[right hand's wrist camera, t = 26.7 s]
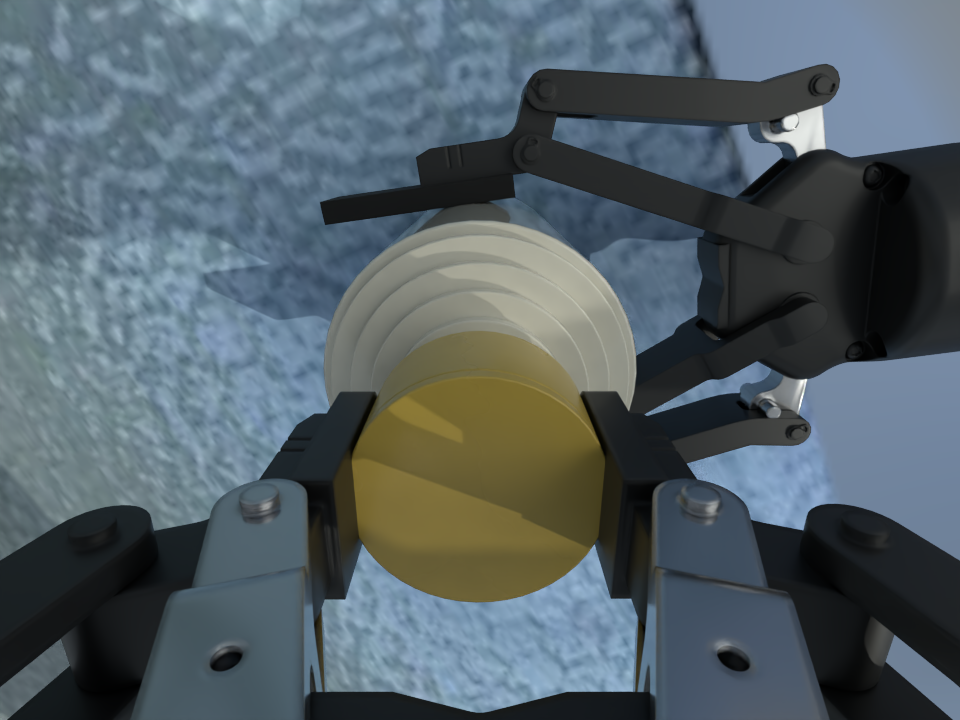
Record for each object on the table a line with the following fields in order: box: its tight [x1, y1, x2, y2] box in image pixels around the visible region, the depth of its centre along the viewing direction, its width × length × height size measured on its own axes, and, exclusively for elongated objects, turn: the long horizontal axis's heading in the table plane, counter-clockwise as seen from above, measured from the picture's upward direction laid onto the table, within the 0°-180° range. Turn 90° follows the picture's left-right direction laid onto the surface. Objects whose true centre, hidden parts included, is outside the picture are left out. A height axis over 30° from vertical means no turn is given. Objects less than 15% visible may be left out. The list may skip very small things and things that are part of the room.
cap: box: [352, 331, 605, 602], centre depth 11 cm, size 5×5×2 cm
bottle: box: [324, 198, 637, 411], centre depth 19 cm, size 8×8×18 cm
